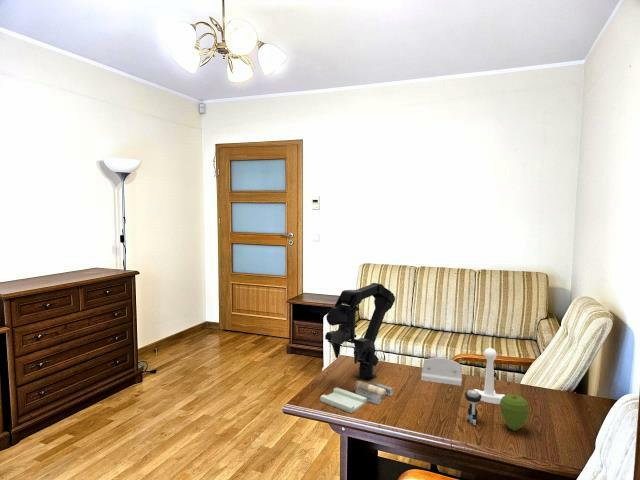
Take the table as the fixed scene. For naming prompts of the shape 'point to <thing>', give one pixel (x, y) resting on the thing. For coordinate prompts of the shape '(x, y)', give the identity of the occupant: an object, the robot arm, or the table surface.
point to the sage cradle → (344, 400)
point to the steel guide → (373, 397)
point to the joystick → (490, 380)
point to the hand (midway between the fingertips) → (346, 360)
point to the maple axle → (370, 388)
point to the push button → (473, 404)
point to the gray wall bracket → (442, 371)
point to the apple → (514, 411)
